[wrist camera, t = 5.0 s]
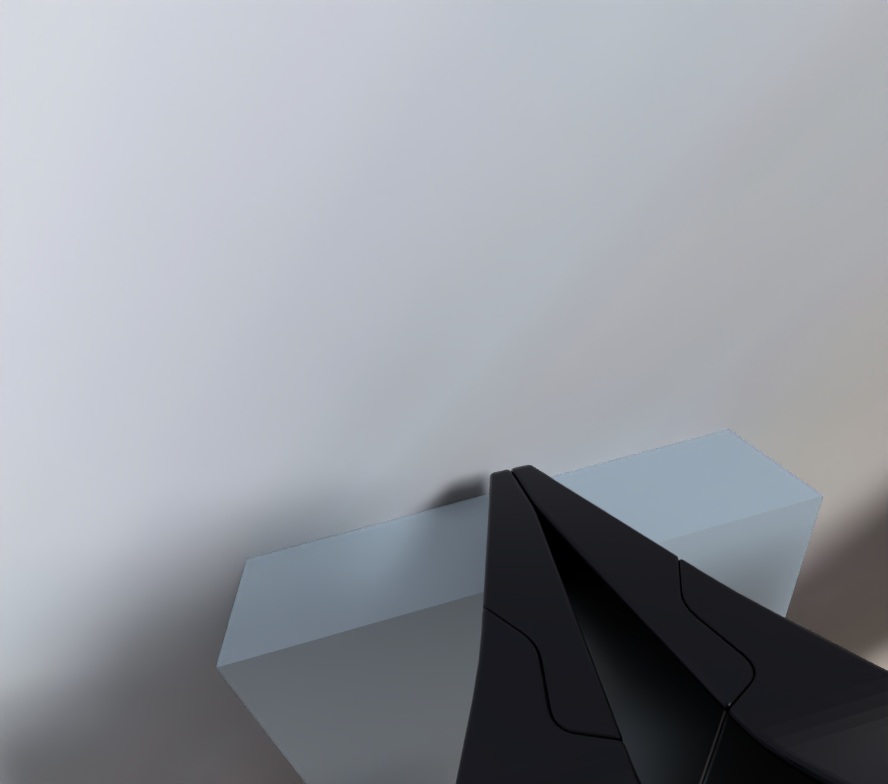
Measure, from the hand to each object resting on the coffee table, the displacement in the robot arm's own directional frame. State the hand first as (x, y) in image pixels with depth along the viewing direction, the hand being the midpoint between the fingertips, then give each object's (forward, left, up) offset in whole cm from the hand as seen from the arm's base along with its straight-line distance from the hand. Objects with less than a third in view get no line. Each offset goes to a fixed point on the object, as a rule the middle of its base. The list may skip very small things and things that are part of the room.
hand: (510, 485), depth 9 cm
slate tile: (0, +10, -2) cm, 10 cm away
